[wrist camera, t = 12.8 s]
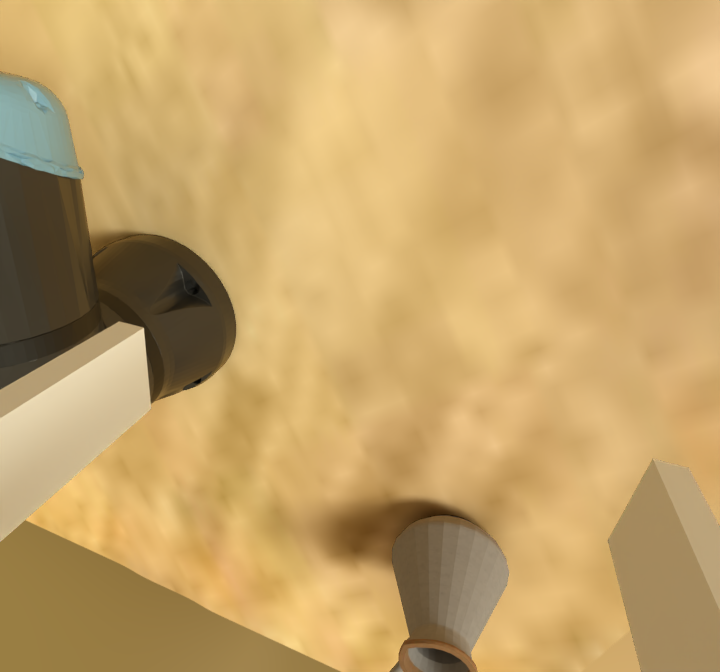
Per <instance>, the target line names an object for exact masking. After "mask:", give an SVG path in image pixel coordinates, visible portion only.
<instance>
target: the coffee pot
mask: <svg viewBox="0 0 720 672" xmlns="http://www.w3.org/2000/svg"><path fill="white" fill-rule="evenodd" d="M392 564H393V568H394V572H395V576H396V580H397V585H398V589H399V593H400V597H401V602H402V606H403V610H404V614H405V618H406V623H407V627H408V631H409V635H410V637H409V638H408V639H407V640H405V641H404V643H403V645H402V646H401V648H400V652H399V661H398V662H397V664H396V665H395V666H394V667H393V668H392V669H391V671H390V672H477V668H476V665H475V663H474V662H473V660H472V657H471V651H472V649H473V647H474V646H475V644H476V642H477V640H478V638H479V636H480V634H481V632H482V631H483V629H484V627H485V625H486V623H487V621H488V619H489V618H490V616H491V614H492V612H493V610H494V608H495V606H496V605H497V603H498V601H499V599H500V597H501V595H502V593H503V591H504V590H505V588H506V586H507V582H508V576H509V570H508V565H507V561H506V558H505V556H504V554H503V552H502V551H501V549H500V547H499V546H498V544H497V542H496V541H495V540H494V539H493V538H492V537H491V536H490V535H489V534H488V533H487V532H485V531H484V530H482V529H481V528H479V527H478V526H476V525H474V524H473V523H471V522H469V521H468V520H465V519H462V518H460V517H456V516H450V515H437V516H433V517H428V518H424V519H420V520H418V521H416V522H414V523H412V524H410V525H409V526H408V527H407V528H406V529H405V530H404V531H403V532H402V533H401V534H400V535H399V536H398V537H397V539H396V541H395V543H394V546H393V548H392Z"/></svg>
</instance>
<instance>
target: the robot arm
mask: <svg viewBox="0 0 720 672" xmlns="http://www.w3.org/2000/svg"><path fill="white" fill-rule="evenodd" d="M83 178H84V172H83V170H82V169H81V167H79V166H78V162H77V157H76V153H75V148H74V143H73V139H72V134H71V130H70V125H69V120H68V116H67V113H66V110H65V108H64V106H63V105H62V103H61V102H60V100H59V99H58V98H57V97H56V95H55V94H54V93H53V92H51V91H50V90H49V89H48V88H46V87H45V86H44V85H42V84H40V83H38V82H36V81H34V80H32V79H29V78H25V77H22V76H18V75H14V74H10V73H5V72H1V71H0V541H2V540H3V539H4V538H5V537H6V536H7V535H8V534H10V532H12V531H13V530H14V529H15V528H16V527H18V525H20V524H21V523H22V522H23V521H24V520H26V519H27V518H28V517H29V516H30V515H31V514H32V513H33V512H35V511H36V510H37V509H38V508H39V507H40V506H41V505H43V504H44V503H45V502H46V501H47V500H48V499H49V498H51V497H52V496H53V495H54V494H55V493H56V492H57V491H58V490H60V489H61V488H62V487H63V486H64V485H65V484H66V483H68V482H69V481H70V480H71V479H72V478H73V477H74V476H76V475H77V474H78V473H79V472H80V471H81V470H82V469H83V468H85V467H86V466H87V465H88V464H89V463H90V462H91V461H93V460H94V459H95V458H96V457H97V456H98V455H99V454H101V453H102V452H103V451H104V450H105V449H106V448H107V447H108V446H110V445H111V444H112V443H113V442H114V441H115V440H116V439H118V438H119V437H120V436H121V435H122V434H123V433H124V432H126V431H127V430H128V429H129V428H130V427H131V426H132V425H133V424H135V423H136V422H137V421H138V420H139V419H140V418H141V417H143V416H144V415H145V414H146V413H147V412H148V411H149V410H151V404H152V403H153V402H154V401H157V400H160V399H162V398H165V397H168V396H171V395H174V394H176V393H179V392H181V391H183V390H187V389H190V388H193V387H196V386H198V385H200V384H202V383H203V382H205V381H206V380H208V379H209V378H210V377H211V376H213V375H214V374H215V373H216V372H217V371H218V370H219V369H220V368H221V367H222V366H223V365H224V364H225V363H226V361H227V360H228V358H229V356H230V355H231V352H232V350H233V347H234V343H235V337H236V321H235V315H234V310H233V307H232V304H231V301H230V298H229V296H228V294H227V292H226V290H225V288H224V286H223V284H222V283H221V281H220V280H219V278H218V277H217V275H216V274H215V273H214V271H213V270H212V269H211V268H210V267H209V266H208V265H207V264H206V263H205V262H204V261H203V260H202V259H201V258H200V257H199V256H198V255H196V254H195V253H194V252H192V251H191V250H189V249H188V248H186V247H185V246H183V245H181V244H179V243H177V242H175V241H173V240H170V239H167V238H164V237H160V236H155V235H136V236H131V237H128V238H125V239H122V240H119V241H117V242H114V243H111V244H109V245H107V246H105V247H104V248H102V249H100V250H99V251H98V252H97V253H95V254H94V255H93V256H92V250H91V244H90V238H89V231H88V225H87V218H86V212H85V205H84V199H83V192H82V186H81V179H83ZM608 543H609V547H610V551H611V555H612V559H613V563H614V567H615V571H616V575H617V579H618V583H619V587H620V591H621V594H622V598H623V602H624V606H625V610H626V614H627V618H628V622H629V626H630V630H631V634H632V638H633V642H634V645H635V650H636V653H637V657H638V661H639V665H640V669H641V672H720V526H719V524H718V522H717V520H716V518H715V516H714V515H713V513H712V511H711V509H710V507H709V505H708V503H707V501H706V499H705V498H704V496H703V494H702V492H701V490H700V488H699V486H698V484H697V482H696V480H695V479H694V477H693V475H692V473H691V471H690V469H689V468H688V467H684V466H680V465H676V464H672V463H668V462H664V461H660V460H656V459H652V461H651V463H650V465H649V466H648V468H647V470H646V472H645V474H644V475H643V477H642V479H641V481H640V483H639V484H638V486H637V488H636V490H635V492H634V494H633V495H632V497H631V499H630V501H629V503H628V504H627V506H626V508H625V510H624V512H623V514H622V515H621V517H620V519H619V521H618V523H617V524H616V526H615V528H614V530H613V532H612V533H611V535H610V537H609V539H608Z"/></svg>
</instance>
